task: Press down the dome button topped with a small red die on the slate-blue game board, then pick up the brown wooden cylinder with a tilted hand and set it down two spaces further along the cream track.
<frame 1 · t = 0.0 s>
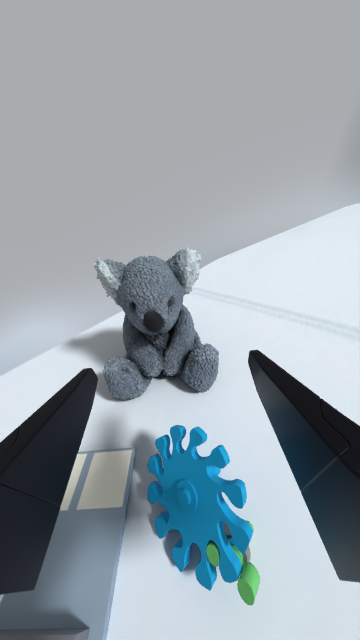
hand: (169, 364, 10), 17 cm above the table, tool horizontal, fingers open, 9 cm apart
koala plush: (166, 357, 33), on the table
blue spiky piece: (198, 507, 17), on the table
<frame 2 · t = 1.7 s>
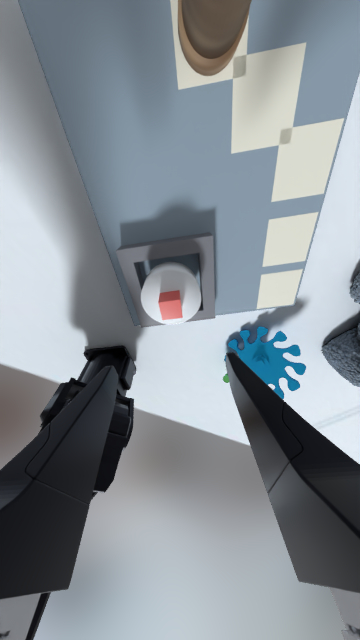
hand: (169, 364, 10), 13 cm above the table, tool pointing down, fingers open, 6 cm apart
brown wooden cylinder: (210, 22, 10), point 1 cm above the table, touching board
board: (207, 208, 17), on the table
dome button: (171, 298, 16), point 5 cm above the table, slide at 0.0 cm
blue spiky piece: (247, 344, 27), on the table
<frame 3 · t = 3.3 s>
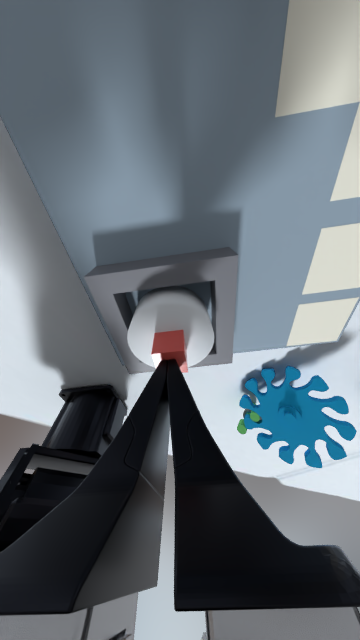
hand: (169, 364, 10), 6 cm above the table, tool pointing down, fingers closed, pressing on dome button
board: (226, 210, 11), on the table
dome button: (171, 337, 12), point 4 cm above the table, slide at 1.1 cm, touching gripper
blue spiky piece: (268, 383, 22), on the table
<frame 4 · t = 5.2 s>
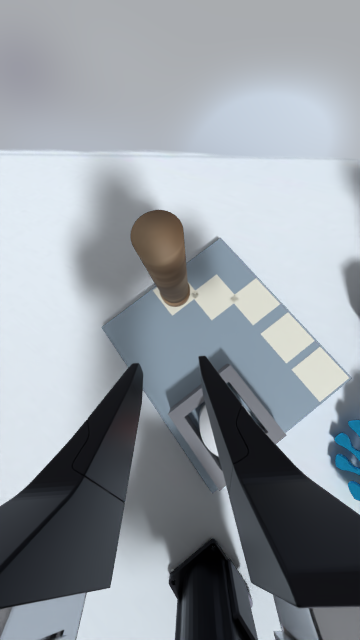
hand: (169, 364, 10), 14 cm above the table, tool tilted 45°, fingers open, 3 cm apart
brown wooden cylinder: (175, 292, 24), point 1 cm above the table, touching board
board: (216, 350, 23), on the table
dome button: (226, 426, 18), point 3 cm above the table, slide at 1.6 cm
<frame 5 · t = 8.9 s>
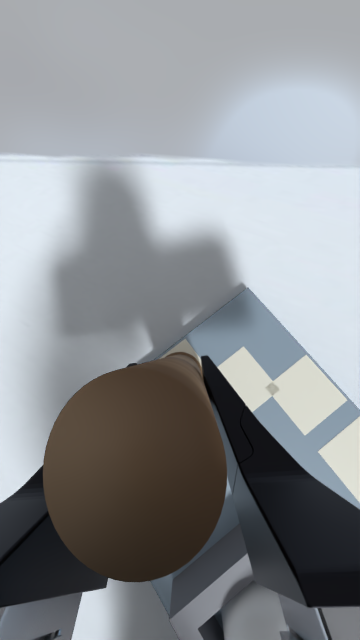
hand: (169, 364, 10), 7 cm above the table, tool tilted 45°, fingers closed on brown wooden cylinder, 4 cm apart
brown wooden cylinder: (180, 374, 15), point 1 cm above the table, touching board, gripper
board: (244, 470, 15), on the table
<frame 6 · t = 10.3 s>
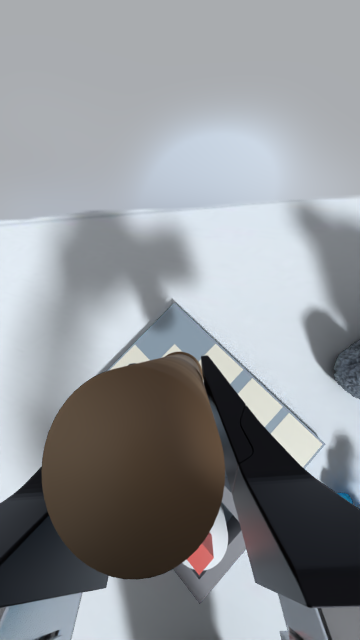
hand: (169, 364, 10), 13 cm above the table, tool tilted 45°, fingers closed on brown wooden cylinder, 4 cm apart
brown wooden cylinder: (180, 374, 15), point 7 cm above the table, touching gripper
board: (184, 427, 22), on the table
dome button: (198, 530, 17), point 3 cm above the table, slide at 1.6 cm
when the fingers open (8 cm above the table, at t = 12.2 s): brown wooden cylinder drops 1 cm, resting on board.
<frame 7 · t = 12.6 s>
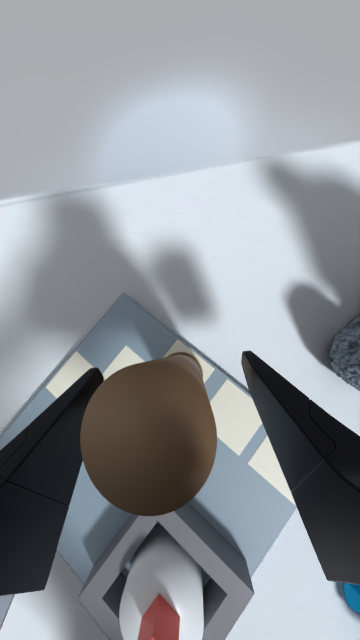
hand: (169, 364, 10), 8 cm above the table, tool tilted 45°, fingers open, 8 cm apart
brown wooden cylinder: (181, 373, 17), point 1 cm above the table, touching board
board: (146, 452, 16), on the table
dome button: (161, 608, 12), point 3 cm above the table, slide at 1.6 cm
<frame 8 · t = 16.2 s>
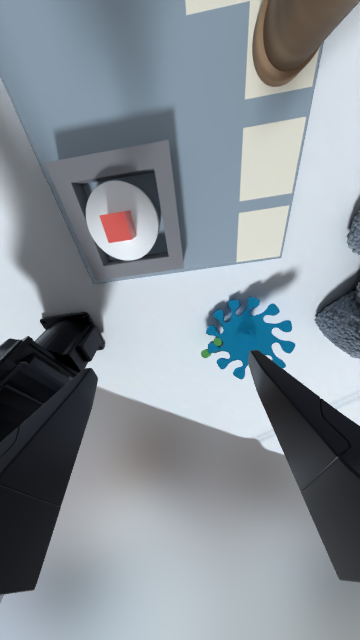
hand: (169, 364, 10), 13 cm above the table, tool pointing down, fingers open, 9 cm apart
brown wooden cylinder: (284, 36, 11), point 1 cm above the table, touching board
board: (165, 113, 13), on the table
dome button: (123, 224, 14), point 3 cm above the table, slide at 1.6 cm
blue spiky piece: (233, 321, 25), on the table
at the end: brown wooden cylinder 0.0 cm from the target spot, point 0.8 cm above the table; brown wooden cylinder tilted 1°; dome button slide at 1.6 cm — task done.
